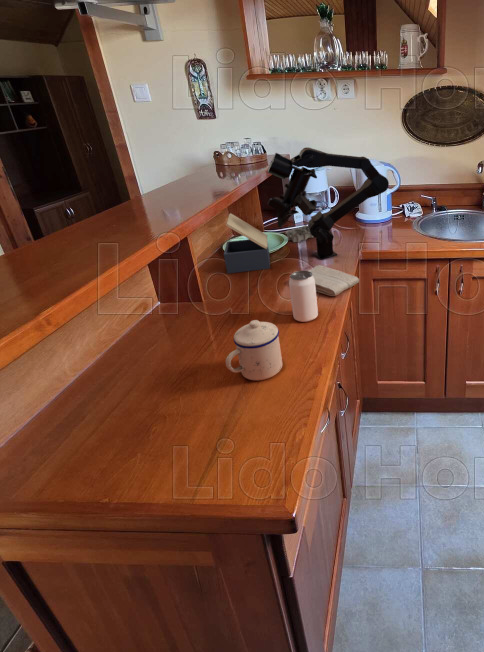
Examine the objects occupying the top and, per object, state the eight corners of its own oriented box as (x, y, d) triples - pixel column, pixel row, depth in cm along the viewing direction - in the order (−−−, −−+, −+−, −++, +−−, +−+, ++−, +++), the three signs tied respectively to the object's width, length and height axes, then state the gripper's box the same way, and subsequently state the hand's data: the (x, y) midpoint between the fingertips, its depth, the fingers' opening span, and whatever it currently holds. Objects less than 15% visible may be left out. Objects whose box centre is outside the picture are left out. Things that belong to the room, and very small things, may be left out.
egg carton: (295, 243, 162) (293, 233, 161) (284, 239, 167) (283, 229, 166) (317, 236, 169) (316, 227, 167) (306, 232, 174) (305, 223, 172)
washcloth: (318, 270, 138) (317, 262, 136) (361, 283, 128) (360, 274, 127) (291, 284, 129) (290, 274, 128) (335, 298, 119) (334, 289, 118)
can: (294, 324, 107) (289, 282, 102) (292, 312, 113) (287, 271, 108) (319, 320, 108) (315, 278, 104) (316, 308, 114) (312, 268, 109)
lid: (225, 225, 131) (227, 223, 131) (229, 214, 143) (230, 212, 142) (266, 249, 138) (267, 247, 137) (266, 237, 149) (267, 235, 149)
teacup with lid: (267, 351, 96) (260, 306, 92) (292, 366, 91) (285, 320, 86) (219, 377, 88) (208, 329, 83) (243, 395, 83) (233, 346, 78)
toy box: (227, 273, 138) (223, 254, 135) (230, 259, 149) (226, 241, 146) (269, 268, 140) (267, 249, 138) (269, 255, 152) (267, 237, 149)
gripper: (306, 196, 128) (287, 241, 132) (328, 196, 146) (310, 235, 150) (276, 179, 130) (258, 224, 134) (301, 181, 147) (284, 221, 151)
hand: (279, 227), depth 142 cm, fingers closed
